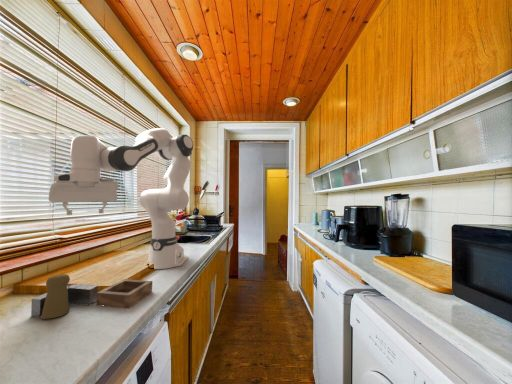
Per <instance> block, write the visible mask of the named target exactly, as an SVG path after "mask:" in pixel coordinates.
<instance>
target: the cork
mask: <svg viewBox="0 0 512 384" xmlns="http://www.w3.org/2000/svg"><path fill="white" fill-rule="evenodd" d="M70 280H71V278H70V275H69V274H66V273H65V274H63V273H61V274H54V275H52V276H49V277H48V278H47V279H46V282H45V285H46V288H47V291H46V293H47V295H46V299H45V303H44V307H43V311H42V315H41V317H40V318H41V319H43V320H44V319H46V320H47V319H55V318H57V317H60V316H64V315H66V314H67V313H69V312H70V306H69V305H70V304H69V303H68V292H67V286H68V284H69V282H70Z"/></svg>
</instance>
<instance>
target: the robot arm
mask: <svg viewBox="0 0 512 384" xmlns="http://www.w3.org/2000/svg"><path fill="white" fill-rule="evenodd" d="M193 149H194V141H193V139H192V138H191V137H190V136H189V135H188V134H179V135H177V136H174V137H171V134H170V132H169V131H168V130H167V129H166V128H162V127H157V128H151V129H148V130H145V131H142V132H141V133H140V134H138V135H136V137H135V144H134V145H130V146H129V145H120V146H115V147H110V146H107V145H106V144H104V143H103V142H102V141H101V140H100V139H99V138H98V136H95V135H88V134H87V135H82V134H81V135H77V136H74V137H73V138H72V140H71V145H70V160H71V166H70V172H67V173H61V174H56V175H54V176H53V180H54V182H53V183H52V184H51V185H50V188H49V191H48V192H49V193H48V201H49V202H50V203H55V204H56V203H62V207H63V208H64V209H65V210H66V215H67V216H71V215H73V209H69V207H68V206H69V203H88V202H89V203H91V202H92V203H95V202H96V203H97V202H99V203H101V202H102V207H101V208H98V214H104V210H105V208H106V206H107V205H108V202H116V201H117V200H118V188H119V181H117V180H116V179H114V178H104V177H101V171H103V172H118V171H119V172H130V171H132V170H134V169H135V168H136V167H137V166H138V164H139V163H140V162H141V161H142V160H143V159H145V158H147V157H149V156H150V155H152V154H154V153H157V152H158V154H159V156H160V157H161V158H162V159H163V160H164V161H165V160H166V161H171V164H170V165H169V167H168V168H167V170H166V172H165V174H164V175H163V183H164V185H166V187H165V188H151V189H147V190H144V191H142V192H141V194H140V195H139V203H140V205H141V207H142V208H143V209H145V210H146V212H147V214H148V215H149V218H150V222H151V238H150V245H151V246H150V247H149V250H148V259H147V262H148V261H149V262H151V263H154V269H153V270H164V269H170V268H171V269H172V268H175V267H181V266H182V265H183V264H184V263H185V262H186V261H187V260H188V259H189V256H188V255H185V254H184V248H183V247H182V245H180V244H179V243H178V240H180V238H181V237H180V235H176V225H177V224H176V221H175V219H173V218H172V217H171V216H170V215H169V214H168V211H177V210H183V209H186V207H187V206H188V205H189V201H190V196H189V194H188V192H187V191H186V190H185V188H184V186H185V183H186V180H187V178H188V175H189V173H190V170H191V166H192V163H191V162H192V161H191V160H190V158H189V157H190V156H191V155H192V154H193V153H192V152H193V151H194V150H193Z"/></svg>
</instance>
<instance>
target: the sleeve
mask: <svg viewBox="0 0 512 384" xmlns="http://www.w3.org/2000/svg"><path fill="white" fill-rule="evenodd" d="M151 293H153V280H142V279H141V280H140V279H127V278H125V279H121V280H120V281H117V282H115V283H113V284H112V285H109V286H108V287H104V289H102V290H100V291H99V290H98V292H97V299H96V302H95V303H96V306H97V305H104V306H103V307H108V306H110V308H121V309H130V308H131V307H133V306H135V305H136V304H137V303H138V302H140V301H142V300H143V299H145V298H146V297H147V296H149V295H150V294H151Z"/></svg>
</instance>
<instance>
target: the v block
mask: <svg viewBox="0 0 512 384" xmlns="http://www.w3.org/2000/svg"><path fill="white" fill-rule="evenodd" d="M67 292H68V304H69V303H71V305H72V303H73V305H80V304H88V305H87V306H91V305H92V303H93V302H95V301H96V299H97V292H99V285H93V284H80V283H79V284H78V283H74V284H71V285H69V286H68V285H67ZM46 295H47V292H46V293H43V294H39V295H38V296H35V297H33V298H31V309H30V310H31V312H30V316H31V317H36V318H41V315H42V311H43V307H44V303H45V299H46ZM95 303H96V302H95ZM90 304H91V305H90ZM93 304H94V303H93Z"/></svg>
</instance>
